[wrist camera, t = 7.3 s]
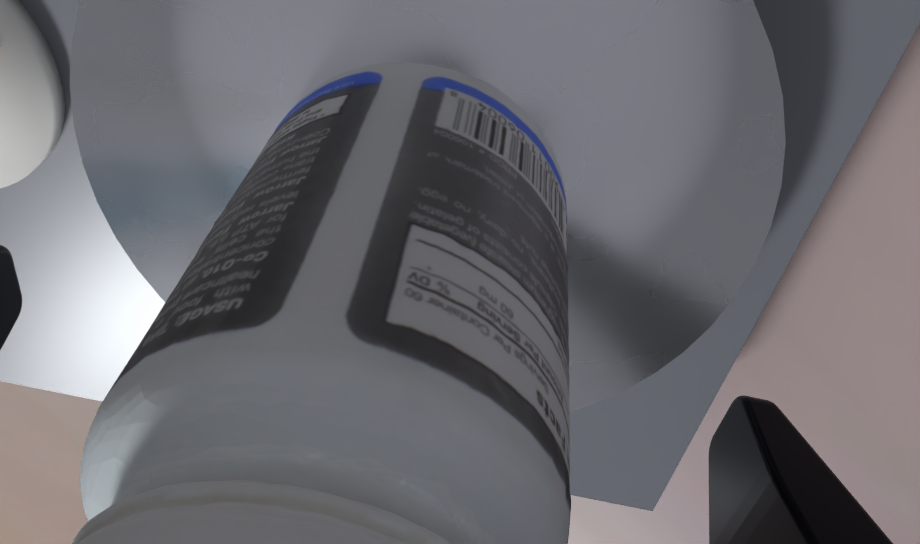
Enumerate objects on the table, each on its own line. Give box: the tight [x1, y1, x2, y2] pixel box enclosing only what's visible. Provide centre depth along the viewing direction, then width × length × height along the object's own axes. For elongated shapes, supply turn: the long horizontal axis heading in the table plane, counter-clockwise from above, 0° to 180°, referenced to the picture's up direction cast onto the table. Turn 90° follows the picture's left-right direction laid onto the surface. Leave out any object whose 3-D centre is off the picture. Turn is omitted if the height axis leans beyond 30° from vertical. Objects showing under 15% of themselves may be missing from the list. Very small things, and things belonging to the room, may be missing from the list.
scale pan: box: [70, 0, 786, 412], centre depth 13 cm, size 11×11×1 cm
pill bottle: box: [72, 62, 571, 544], centre depth 9 cm, size 5×5×8 cm
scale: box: [0, 0, 920, 511], centre depth 14 cm, size 18×16×4 cm
